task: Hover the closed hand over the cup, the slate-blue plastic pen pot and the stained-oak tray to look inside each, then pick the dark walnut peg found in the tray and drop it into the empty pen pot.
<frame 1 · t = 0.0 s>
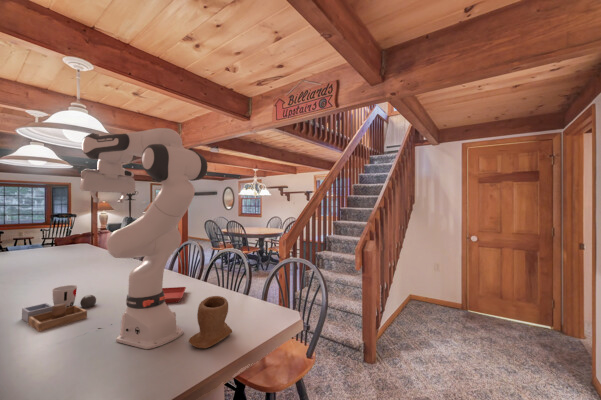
hand: (108, 202, 116), 48 cm above the table, fingers open, 8 cm apart
walnut peg: (58, 320, 105), point 1 cm above the table, touching oak tray
oak tray: (58, 322, 105), on the table
pen pot: (37, 319, 107), on the table
plant saucer: (164, 299, 134), on the table
cup: (64, 311, 117), on the table
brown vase: (213, 341, 93), on the table
dark gray ball: (88, 307, 120), on the table
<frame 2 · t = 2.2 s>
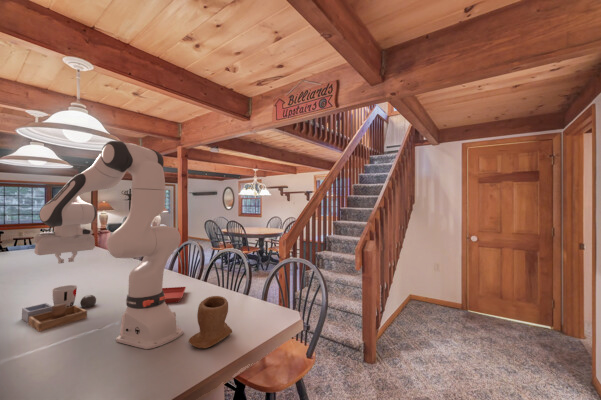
hand: (66, 262, 117), 21 cm above the table, fingers closed
nothing on the table moved.
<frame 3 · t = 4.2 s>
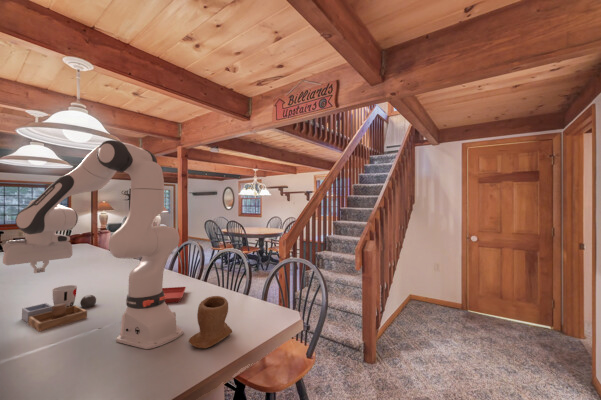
hand: (39, 272, 107), 19 cm above the table, fingers closed
nothing on the table moved.
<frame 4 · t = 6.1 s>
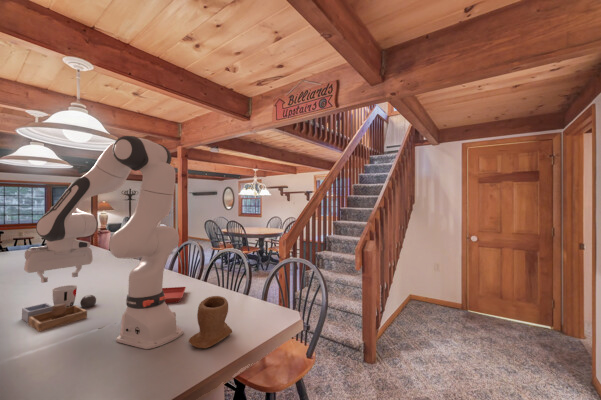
hand: (60, 279, 105), 17 cm above the table, fingers open, 8 cm apart
nothing on the table moved.
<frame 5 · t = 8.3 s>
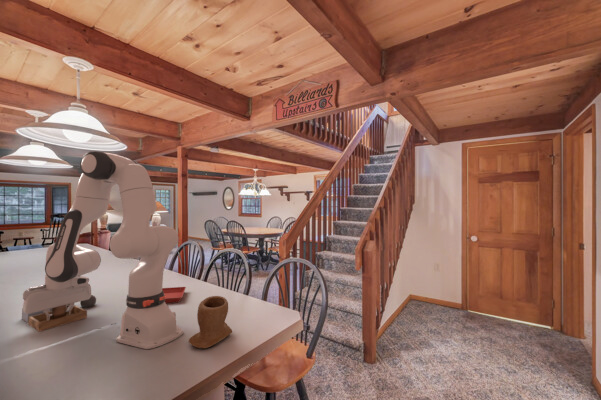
hand: (58, 317, 105), 2 cm above the table, fingers closed on walnut peg, 4 cm apart
walnut peg: (58, 320, 105), point 1 cm above the table, touching gripper, oak tray
everything else where it was.
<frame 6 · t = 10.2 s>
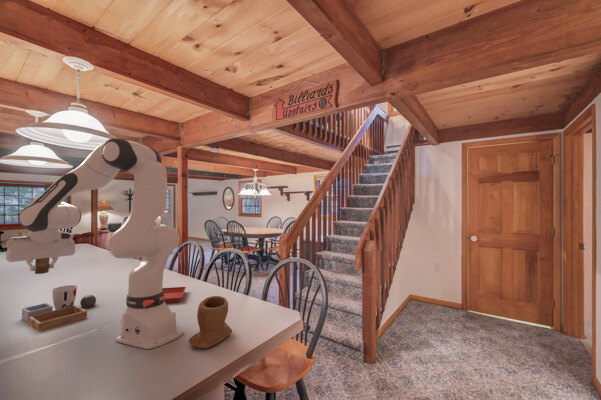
hand: (42, 269, 107), 20 cm above the table, fingers closed on walnut peg, 4 cm apart
walnut peg: (41, 272, 107), point 19 cm above the table, touching gripper
everything else where it was.
when the fingers open (9 cm above the table, at t = 12.4 s): walnut peg drops 6 cm, resting on pen pot.
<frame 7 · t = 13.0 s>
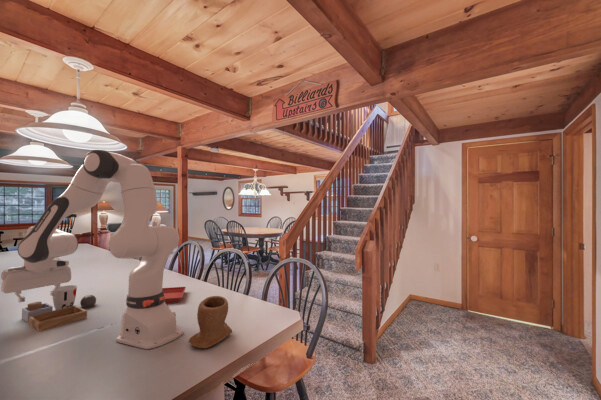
hand: (38, 298, 107), 9 cm above the table, fingers open, 8 cm apart
walnut peg: (34, 318, 106), point 1 cm above the table, touching pen pot
everything else where it was.
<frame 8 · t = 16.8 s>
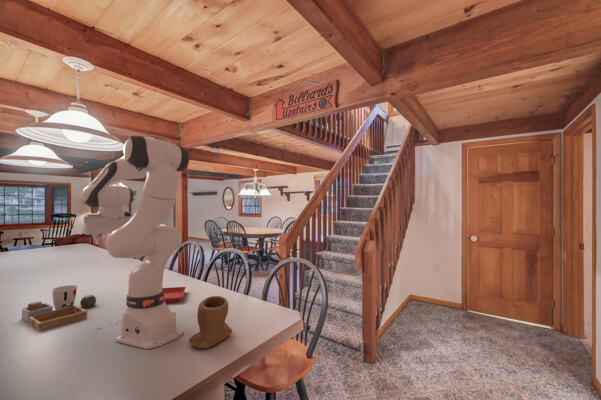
hand: (109, 242, 124), 29 cm above the table, fingers open, 8 cm apart
nothing on the table moved.
at the end: walnut peg 0.8 cm off-centre on the pen pot, point 0.8 cm above the pen pot's base; the gripper is holding nothing; walnut peg moved 11.3 cm from its start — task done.
